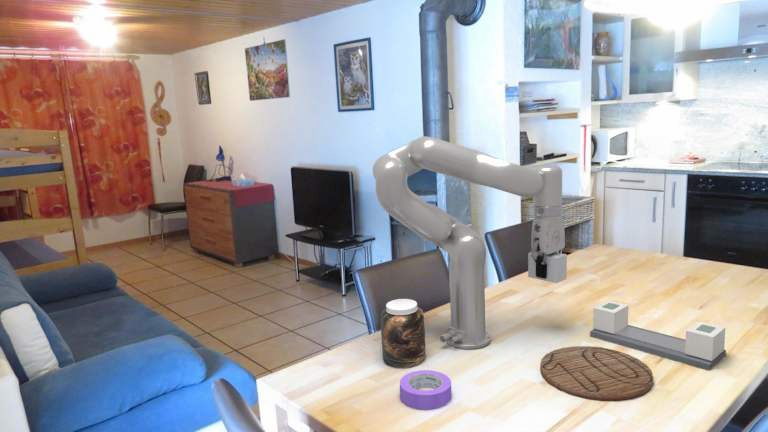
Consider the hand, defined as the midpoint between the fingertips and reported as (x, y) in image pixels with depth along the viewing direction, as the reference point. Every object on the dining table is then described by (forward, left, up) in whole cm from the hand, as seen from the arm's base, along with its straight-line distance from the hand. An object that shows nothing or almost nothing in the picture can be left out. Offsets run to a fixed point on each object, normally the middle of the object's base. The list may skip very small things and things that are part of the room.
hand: (547, 274), depth 151 cm
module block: (0, 0, -1) cm, 1 cm away
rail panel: (+11, -25, -17) cm, 32 cm away
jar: (-39, +18, -18) cm, 46 cm away
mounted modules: (+11, -25, -15) cm, 31 cm away
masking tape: (-49, 0, -18) cm, 52 cm away
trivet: (-14, -22, -18) cm, 31 cm away
